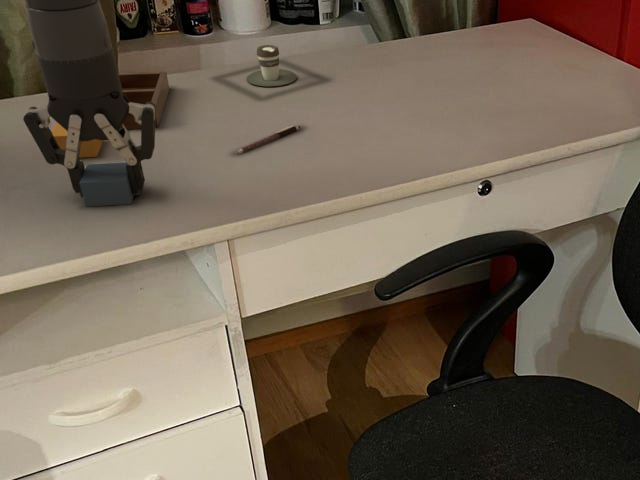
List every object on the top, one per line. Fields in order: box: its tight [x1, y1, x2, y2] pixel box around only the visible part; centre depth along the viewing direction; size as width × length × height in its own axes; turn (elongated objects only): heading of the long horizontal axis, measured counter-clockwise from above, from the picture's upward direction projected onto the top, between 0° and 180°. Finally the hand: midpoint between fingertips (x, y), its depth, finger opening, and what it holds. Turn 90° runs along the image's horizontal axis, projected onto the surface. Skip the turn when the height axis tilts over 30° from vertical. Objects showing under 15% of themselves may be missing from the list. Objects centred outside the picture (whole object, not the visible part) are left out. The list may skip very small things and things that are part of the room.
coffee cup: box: [246, 44, 298, 88], centre depth 133 cm, size 12×12×5 cm
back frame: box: [118, 71, 170, 130], centre depth 123 cm, size 8×15×3 cm, turn 10°
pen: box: [236, 124, 301, 155], centre depth 115 cm, size 11×1×1 cm, turn 143°
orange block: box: [51, 122, 104, 159], centre depth 111 cm, size 5×5×3 cm
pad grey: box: [80, 162, 135, 208], centre depth 101 cm, size 5×5×3 cm
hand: (111, 192), depth 101 cm, fingers closed on pad grey, 5 cm apart
